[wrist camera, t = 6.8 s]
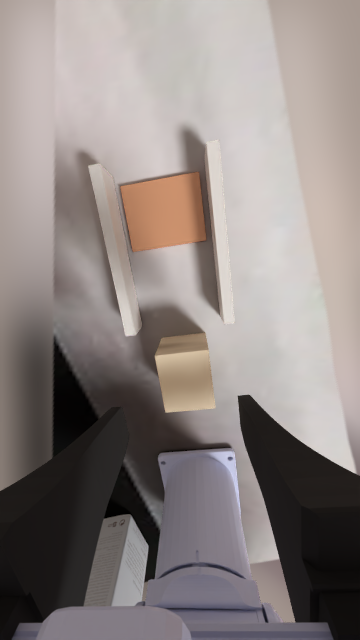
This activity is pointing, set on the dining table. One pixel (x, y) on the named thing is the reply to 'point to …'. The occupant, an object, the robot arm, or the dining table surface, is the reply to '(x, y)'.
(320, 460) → the robot arm
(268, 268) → the dining table surface
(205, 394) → the block
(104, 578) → the skincare box
